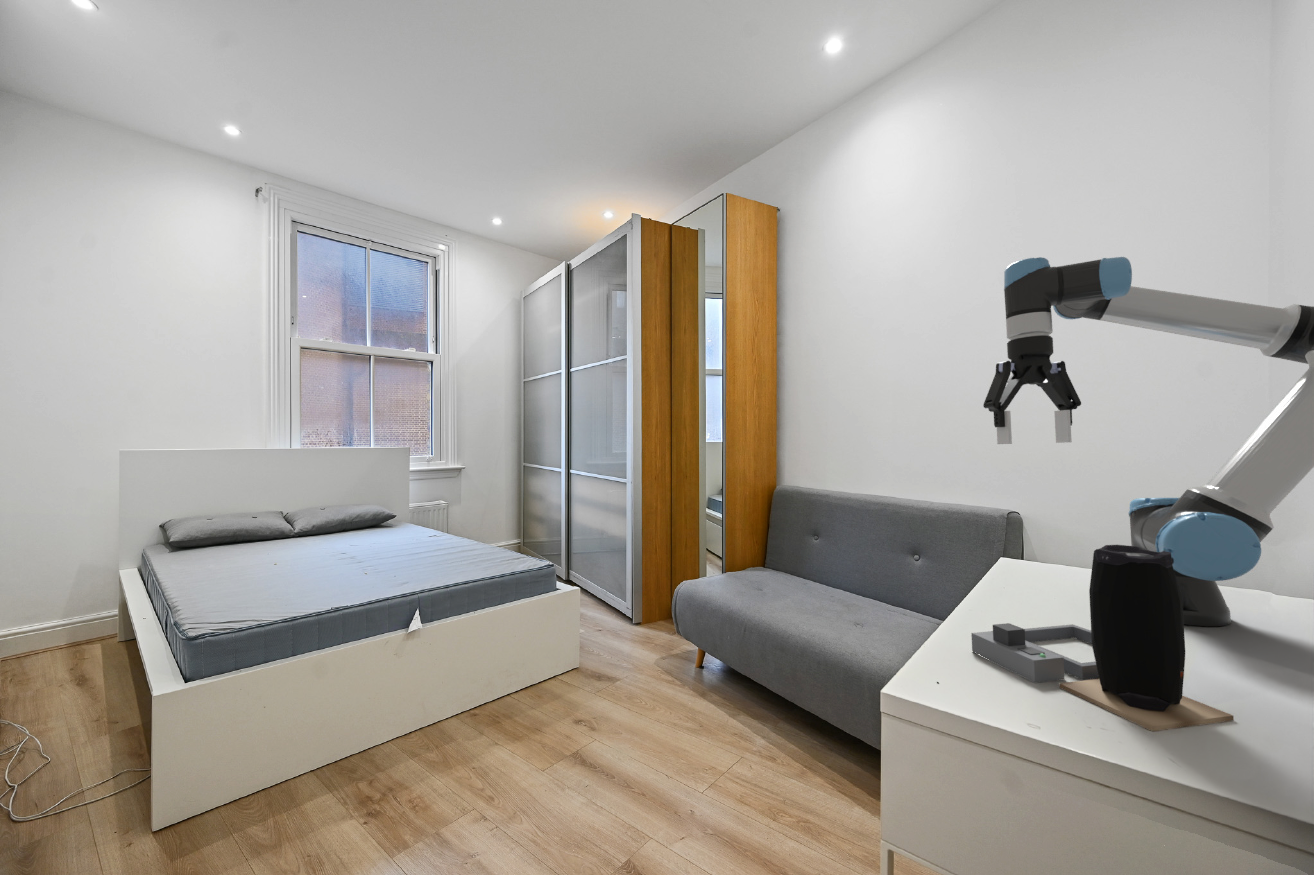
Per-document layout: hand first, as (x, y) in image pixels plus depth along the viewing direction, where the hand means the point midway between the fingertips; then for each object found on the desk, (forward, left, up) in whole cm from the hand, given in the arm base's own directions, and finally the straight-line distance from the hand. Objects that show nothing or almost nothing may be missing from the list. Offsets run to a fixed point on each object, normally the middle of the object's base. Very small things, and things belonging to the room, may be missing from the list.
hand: (1034, 443), depth 105 cm
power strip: (+24, +18, -35) cm, 46 cm away
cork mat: (+18, +32, -35) cm, 51 cm away
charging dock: (+13, +17, -35) cm, 41 cm away
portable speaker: (+18, +32, -34) cm, 50 cm away
